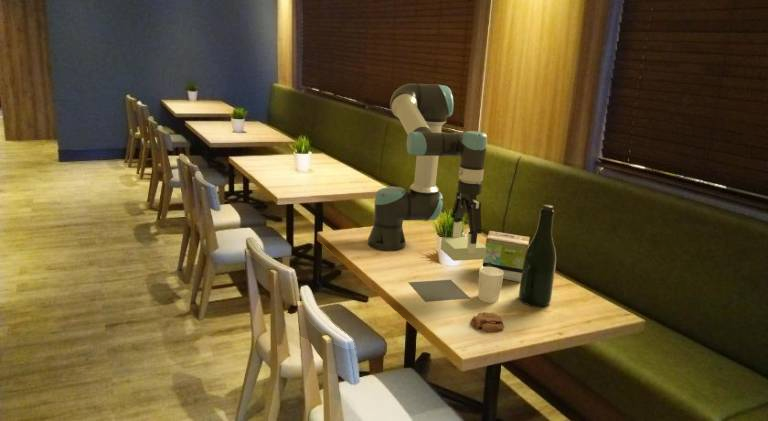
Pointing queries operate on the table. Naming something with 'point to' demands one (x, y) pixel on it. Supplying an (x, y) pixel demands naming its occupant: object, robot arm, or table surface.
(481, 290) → the white cup
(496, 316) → the cookie
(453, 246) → the lid
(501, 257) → the tea box
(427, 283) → the mat
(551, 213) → the dark green wine bottle
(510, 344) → the table surface
